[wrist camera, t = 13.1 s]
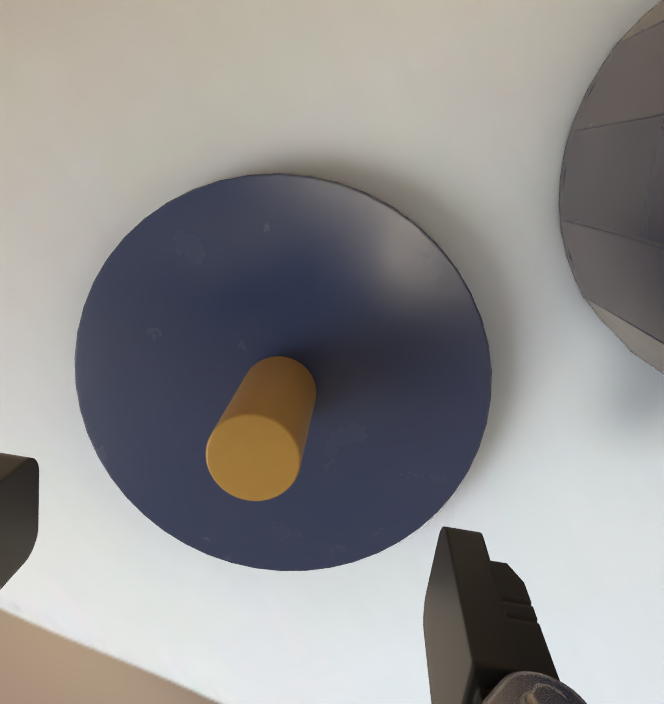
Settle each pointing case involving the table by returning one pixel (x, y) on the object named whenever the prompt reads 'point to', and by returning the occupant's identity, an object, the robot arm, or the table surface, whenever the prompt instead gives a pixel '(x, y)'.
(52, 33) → the table surface
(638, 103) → the pot
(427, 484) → the lid
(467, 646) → the robot arm
